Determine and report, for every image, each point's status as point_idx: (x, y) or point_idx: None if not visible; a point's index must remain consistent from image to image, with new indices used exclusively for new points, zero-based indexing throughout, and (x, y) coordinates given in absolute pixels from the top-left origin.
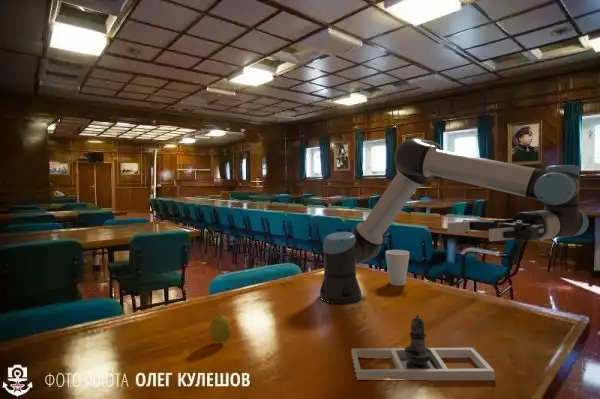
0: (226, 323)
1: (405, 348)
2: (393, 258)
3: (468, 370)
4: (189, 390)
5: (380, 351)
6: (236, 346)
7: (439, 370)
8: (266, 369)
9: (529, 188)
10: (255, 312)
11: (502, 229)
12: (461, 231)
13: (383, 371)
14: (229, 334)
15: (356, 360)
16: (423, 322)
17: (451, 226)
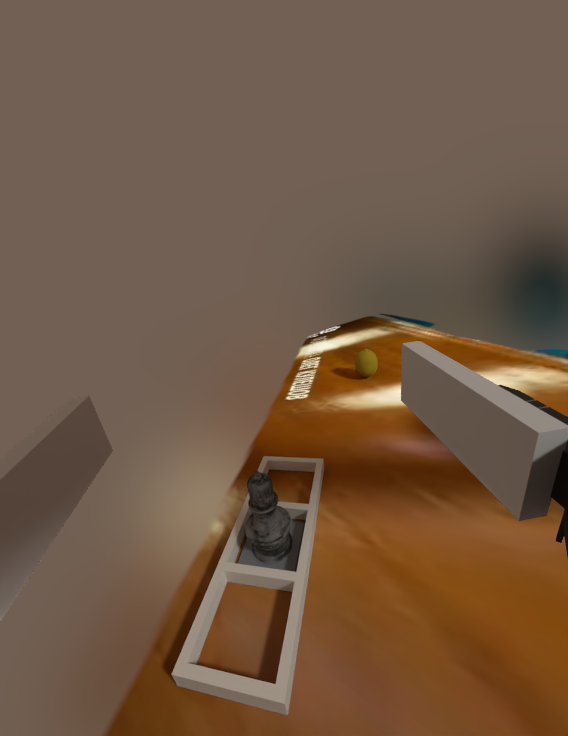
0: (361, 359)
1: (281, 507)
2: None
3: (202, 608)
4: (289, 377)
5: (311, 491)
6: (360, 385)
7: (225, 553)
8: (309, 405)
9: None
10: None
11: (16, 452)
12: (456, 451)
13: None
14: (364, 372)
15: (289, 459)
16: (250, 488)
17: (407, 371)
